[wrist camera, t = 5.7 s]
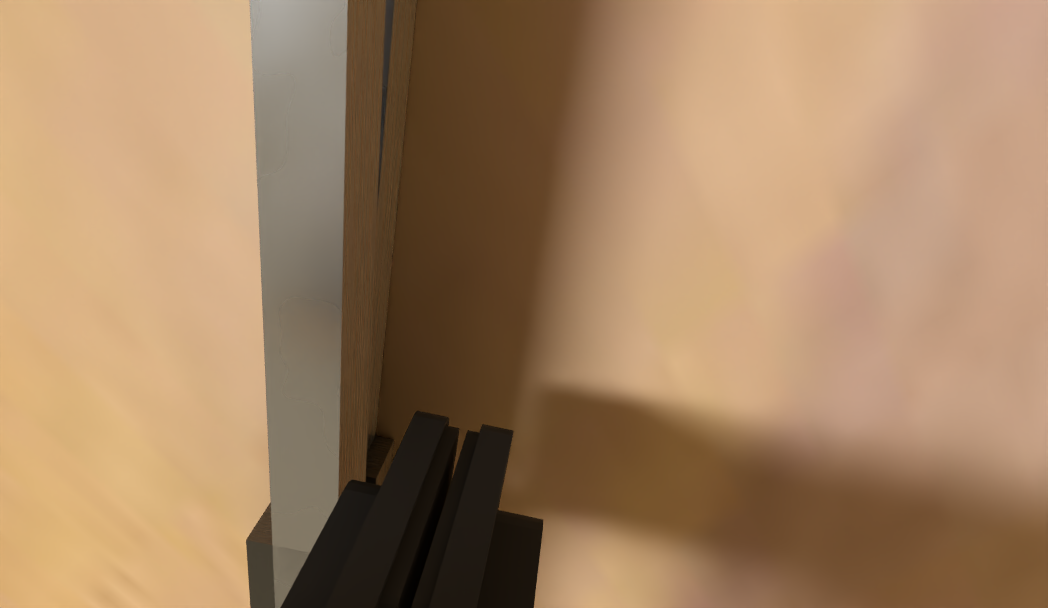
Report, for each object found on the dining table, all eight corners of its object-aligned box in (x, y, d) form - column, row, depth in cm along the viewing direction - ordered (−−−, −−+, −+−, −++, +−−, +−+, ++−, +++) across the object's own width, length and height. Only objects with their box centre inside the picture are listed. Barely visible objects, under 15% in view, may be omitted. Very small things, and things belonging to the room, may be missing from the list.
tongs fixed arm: (336, -1123, 6) (261, -1441, 5) (574, -1082, 6) (565, -1392, 5) (292, 554, 16) (263, 607, 14) (383, 573, 16) (362, 629, 14)
